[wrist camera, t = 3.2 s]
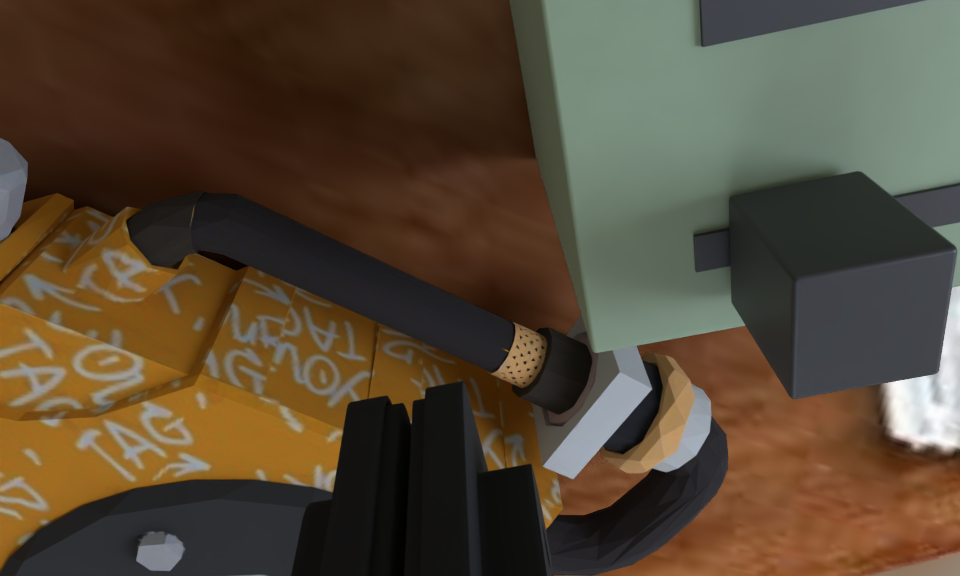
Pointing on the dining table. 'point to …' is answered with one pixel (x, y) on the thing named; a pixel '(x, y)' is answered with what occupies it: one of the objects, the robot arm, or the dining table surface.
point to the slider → (839, 283)
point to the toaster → (724, 134)
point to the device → (283, 392)
